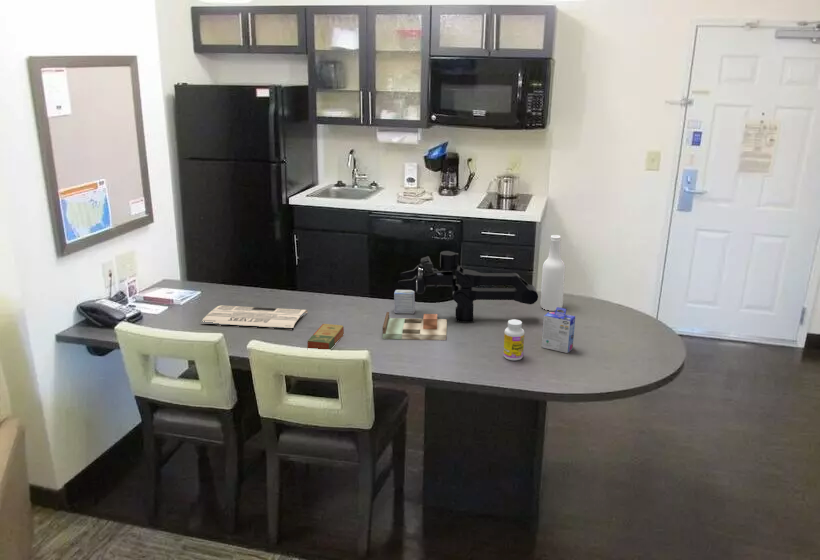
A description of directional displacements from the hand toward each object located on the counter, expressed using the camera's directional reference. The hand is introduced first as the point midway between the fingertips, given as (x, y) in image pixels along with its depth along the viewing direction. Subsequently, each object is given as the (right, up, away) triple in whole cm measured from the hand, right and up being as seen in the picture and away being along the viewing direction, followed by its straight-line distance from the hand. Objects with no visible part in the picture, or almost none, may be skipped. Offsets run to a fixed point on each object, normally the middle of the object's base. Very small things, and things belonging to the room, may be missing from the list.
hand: (399, 278), depth 256 cm
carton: (-26, -24, -15) cm, 38 cm away
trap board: (+6, -20, -7) cm, 22 cm away
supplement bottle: (+39, -27, -28) cm, 55 cm away
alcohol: (+61, -12, +15) cm, 64 cm away
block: (+12, -18, -8) cm, 23 cm away
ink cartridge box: (+56, -25, -22) cm, 65 cm away
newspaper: (-57, -17, +6) cm, 59 cm away
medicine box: (+2, -14, +12) cm, 18 cm away
